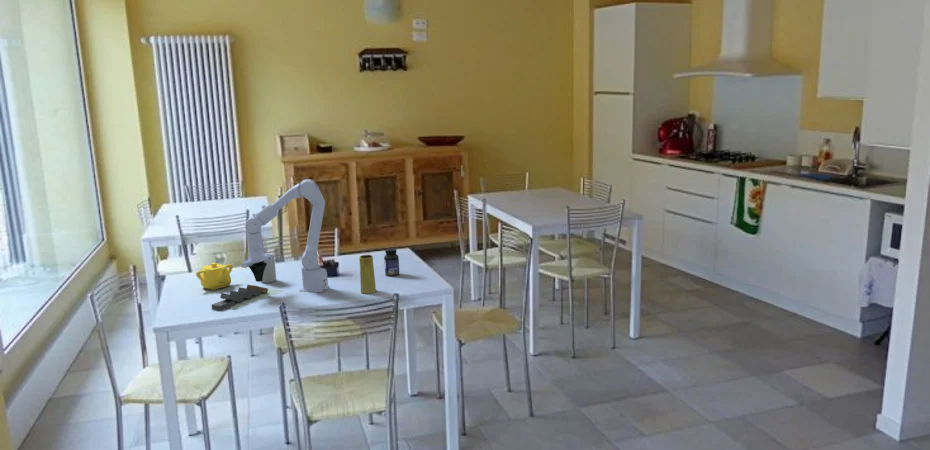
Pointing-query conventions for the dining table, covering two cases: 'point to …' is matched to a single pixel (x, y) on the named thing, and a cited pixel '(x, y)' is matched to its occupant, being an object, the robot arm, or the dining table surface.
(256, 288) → the domino
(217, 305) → the domino
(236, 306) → the mat
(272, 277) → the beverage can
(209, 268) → the teapot
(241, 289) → the domino
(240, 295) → the domino
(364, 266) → the vase
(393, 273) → the pill bottle
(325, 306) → the dining table surface
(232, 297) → the domino
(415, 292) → the dining table surface
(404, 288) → the dining table surface
